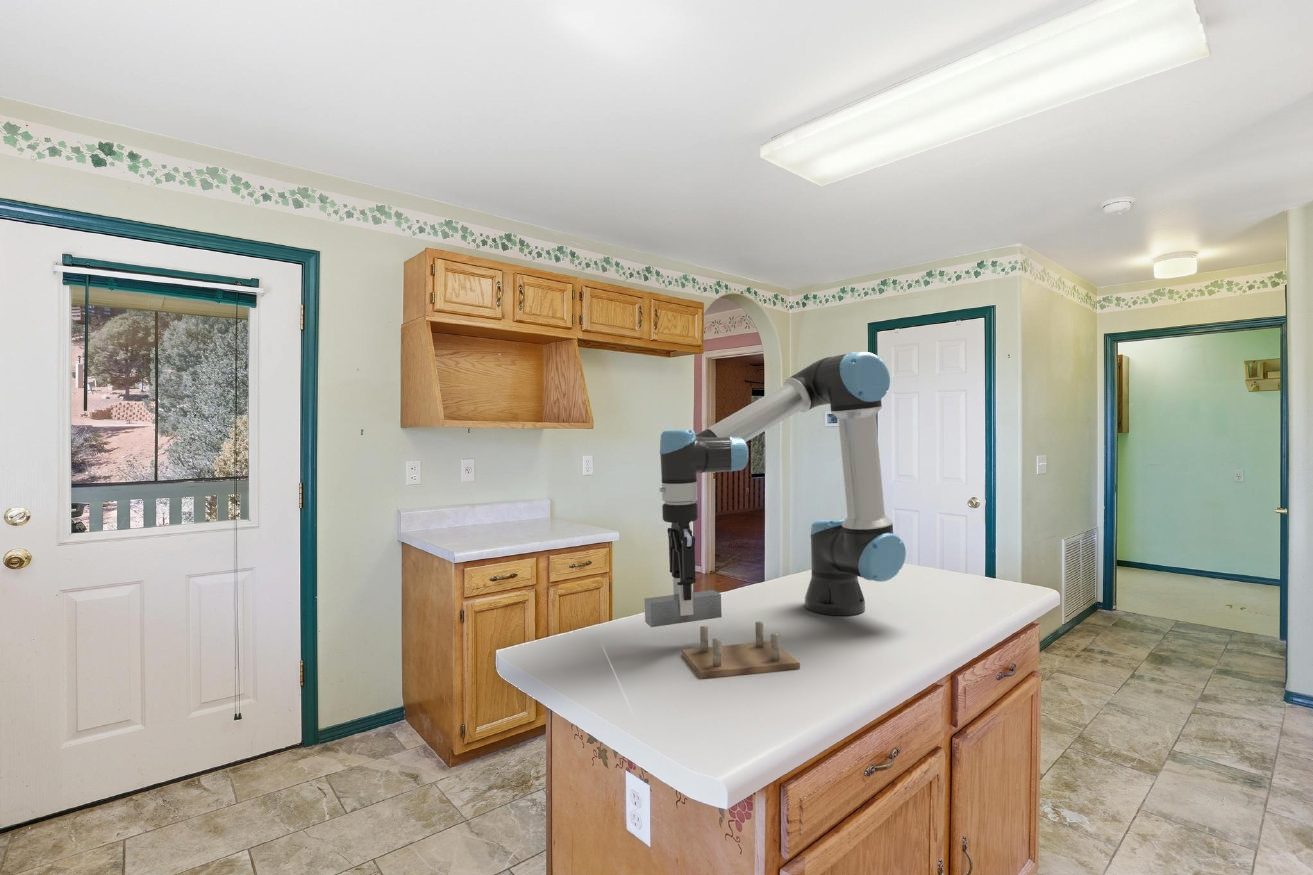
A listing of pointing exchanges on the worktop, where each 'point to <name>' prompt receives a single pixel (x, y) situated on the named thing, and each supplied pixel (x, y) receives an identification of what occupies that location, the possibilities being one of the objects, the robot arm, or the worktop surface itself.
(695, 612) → the steel bar
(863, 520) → the robot arm
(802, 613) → the worktop surface
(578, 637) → the worktop surface
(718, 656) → the peg rack
